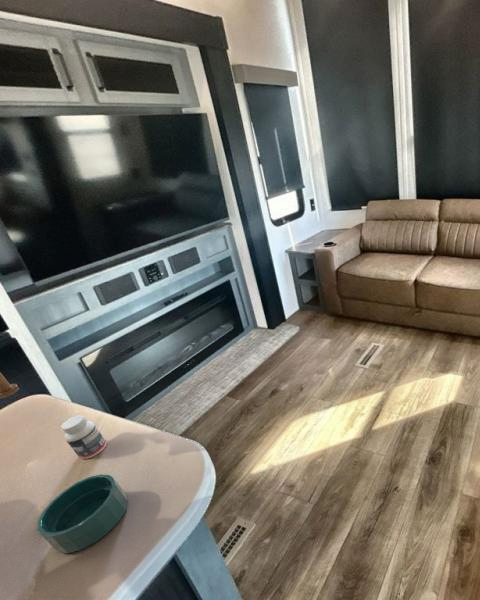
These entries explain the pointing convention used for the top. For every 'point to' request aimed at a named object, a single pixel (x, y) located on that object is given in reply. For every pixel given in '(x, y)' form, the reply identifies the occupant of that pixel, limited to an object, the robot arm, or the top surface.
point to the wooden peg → (6, 387)
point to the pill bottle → (83, 437)
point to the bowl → (83, 513)
